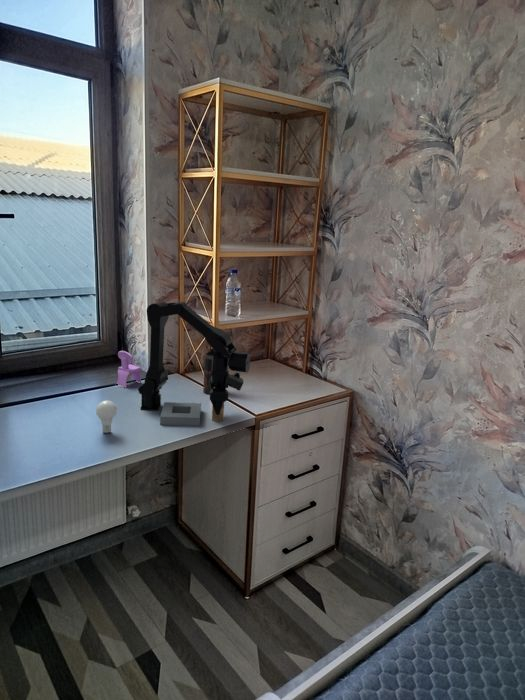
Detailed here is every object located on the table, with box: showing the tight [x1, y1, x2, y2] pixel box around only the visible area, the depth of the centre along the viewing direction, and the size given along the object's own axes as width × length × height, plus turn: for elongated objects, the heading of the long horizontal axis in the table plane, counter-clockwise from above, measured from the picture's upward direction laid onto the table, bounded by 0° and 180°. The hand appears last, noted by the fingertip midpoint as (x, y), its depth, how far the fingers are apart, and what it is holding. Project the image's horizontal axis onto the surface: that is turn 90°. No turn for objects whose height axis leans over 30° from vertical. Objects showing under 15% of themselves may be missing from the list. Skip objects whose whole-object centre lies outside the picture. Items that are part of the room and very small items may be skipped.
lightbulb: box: [95, 399, 118, 434], centre depth 160 cm, size 6×6×11 cm
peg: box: [211, 402, 225, 422], centre depth 177 cm, size 4×4×9 cm
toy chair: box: [115, 350, 142, 388], centre depth 204 cm, size 8×9×15 cm
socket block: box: [159, 401, 202, 427], centre depth 176 cm, size 13×13×3 cm
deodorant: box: [202, 355, 212, 396], centre depth 202 cm, size 6×6×15 cm
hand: (217, 409), depth 177 cm, fingers open, 9 cm apart
